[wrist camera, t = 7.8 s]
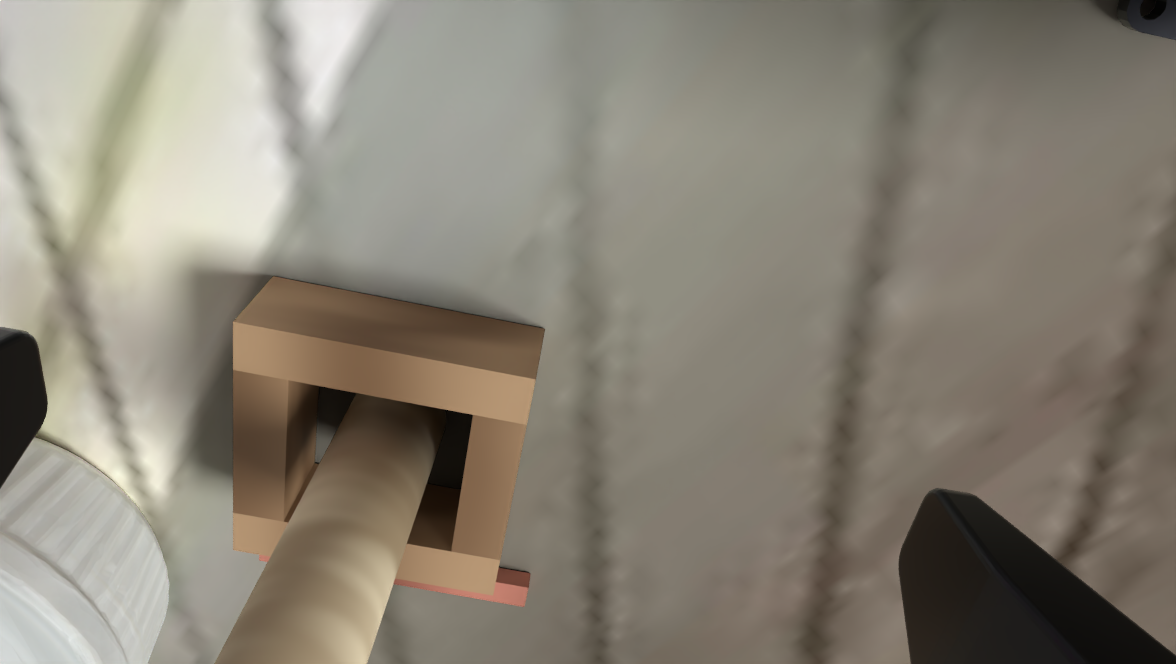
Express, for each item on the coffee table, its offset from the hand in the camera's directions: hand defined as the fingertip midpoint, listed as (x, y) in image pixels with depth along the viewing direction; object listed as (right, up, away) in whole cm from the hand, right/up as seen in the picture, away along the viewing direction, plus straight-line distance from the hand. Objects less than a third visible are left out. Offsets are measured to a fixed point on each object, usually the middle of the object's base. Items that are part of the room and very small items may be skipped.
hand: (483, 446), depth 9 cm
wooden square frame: (-4, -2, +15) cm, 16 cm away
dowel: (-4, -1, +15) cm, 16 cm away
